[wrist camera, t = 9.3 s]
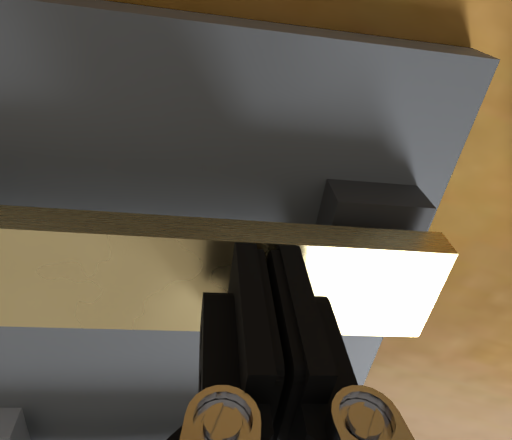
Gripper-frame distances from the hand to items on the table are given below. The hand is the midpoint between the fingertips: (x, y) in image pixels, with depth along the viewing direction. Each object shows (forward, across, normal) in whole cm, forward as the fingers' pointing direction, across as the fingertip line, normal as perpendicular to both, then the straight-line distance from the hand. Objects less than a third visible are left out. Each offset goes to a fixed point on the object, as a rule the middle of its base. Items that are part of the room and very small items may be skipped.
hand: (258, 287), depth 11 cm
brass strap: (+1, +3, 0) cm, 3 cm away
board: (+4, +3, +6) cm, 8 cm away
